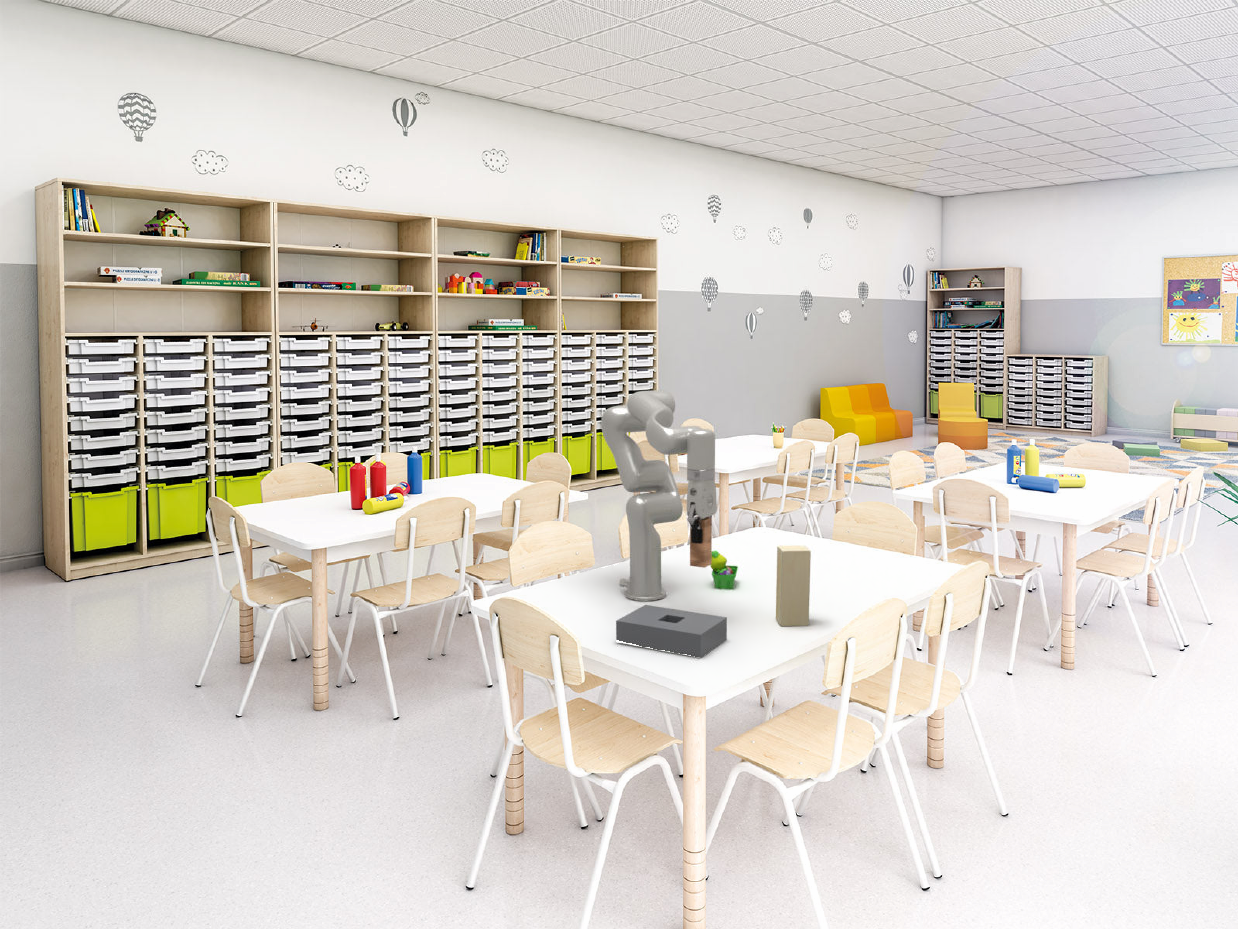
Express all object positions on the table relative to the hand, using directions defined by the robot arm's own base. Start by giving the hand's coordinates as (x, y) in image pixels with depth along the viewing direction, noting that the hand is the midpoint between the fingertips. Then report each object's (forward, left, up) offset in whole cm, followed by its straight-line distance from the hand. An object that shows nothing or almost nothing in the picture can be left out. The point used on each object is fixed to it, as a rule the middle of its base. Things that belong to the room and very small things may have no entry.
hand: (700, 540), depth 251 cm
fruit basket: (-10, +38, -23) cm, 46 cm away
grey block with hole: (0, -18, -23) cm, 29 cm away
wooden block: (0, 0, -7) cm, 7 cm away
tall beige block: (+22, +12, -23) cm, 34 cm away
